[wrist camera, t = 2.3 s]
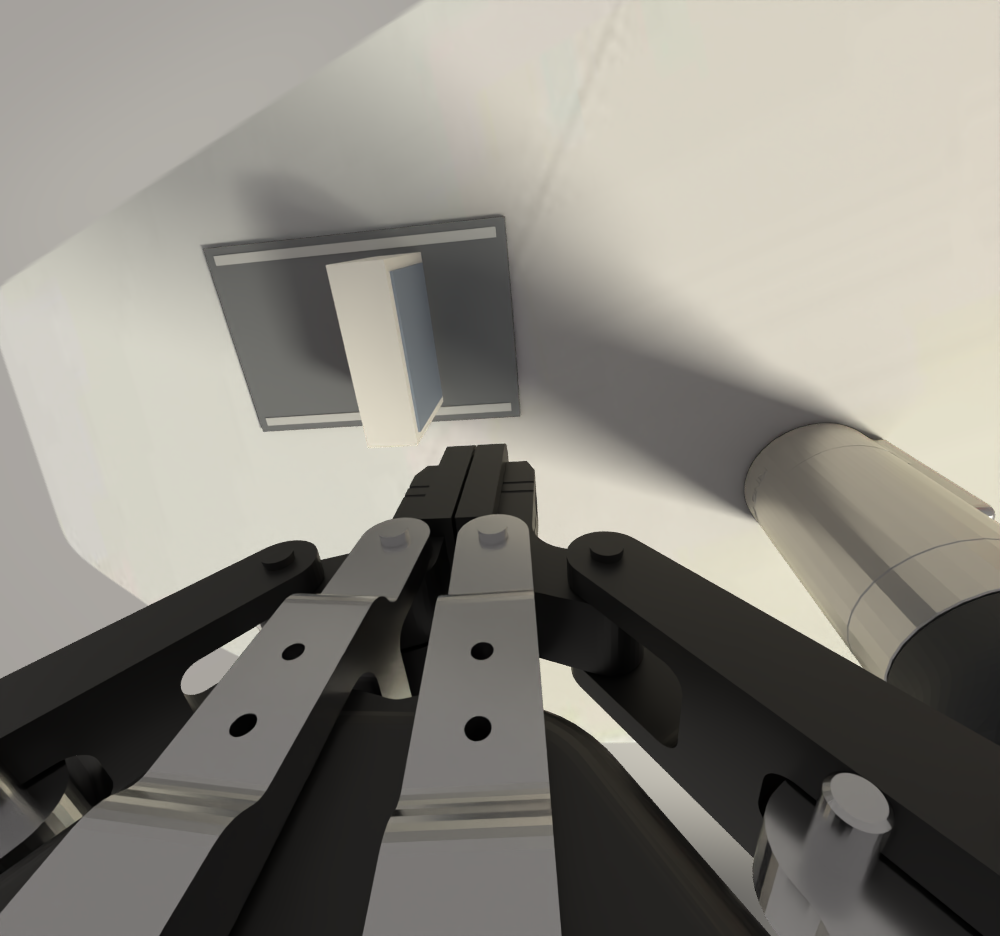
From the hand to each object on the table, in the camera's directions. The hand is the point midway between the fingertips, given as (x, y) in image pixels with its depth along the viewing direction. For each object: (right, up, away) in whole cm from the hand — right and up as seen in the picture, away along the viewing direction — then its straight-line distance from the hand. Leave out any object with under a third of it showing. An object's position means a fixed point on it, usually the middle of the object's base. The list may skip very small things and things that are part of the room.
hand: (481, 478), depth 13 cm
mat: (-9, +10, +22) cm, 25 cm away
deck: (-6, +8, +17) cm, 20 cm away
